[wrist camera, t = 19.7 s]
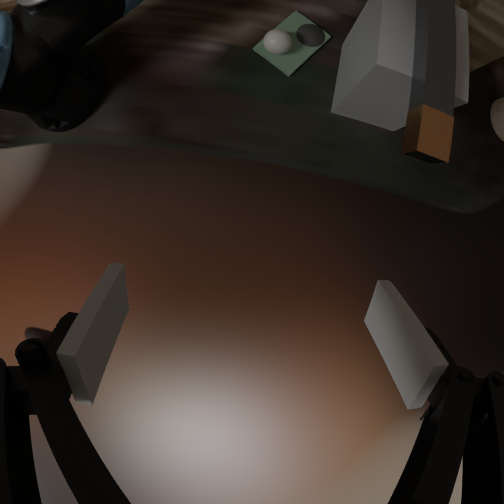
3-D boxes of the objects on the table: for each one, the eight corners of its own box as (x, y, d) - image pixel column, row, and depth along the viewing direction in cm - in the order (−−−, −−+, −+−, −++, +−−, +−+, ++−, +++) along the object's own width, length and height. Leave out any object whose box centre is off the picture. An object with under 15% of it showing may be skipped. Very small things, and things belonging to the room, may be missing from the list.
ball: (257, 48, 41) (257, 36, 37) (275, 31, 40) (276, 20, 36) (278, 63, 41) (279, 53, 38) (295, 46, 41) (298, 35, 37)
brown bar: (451, 172, 25) (476, 171, 21) (375, 145, 25) (393, 139, 21) (457, -19, 20) (473, -34, 16) (394, -48, 20) (405, -67, 16)
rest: (393, 131, 43) (468, 102, 23) (330, 112, 43) (376, 64, 23) (401, 64, 41) (466, 11, 21) (342, 44, 41) (384, -27, 21)
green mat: (253, 49, 42) (252, 48, 41) (295, 12, 40) (295, 10, 39) (288, 77, 42) (289, 75, 42) (330, 37, 41) (331, 36, 40)
